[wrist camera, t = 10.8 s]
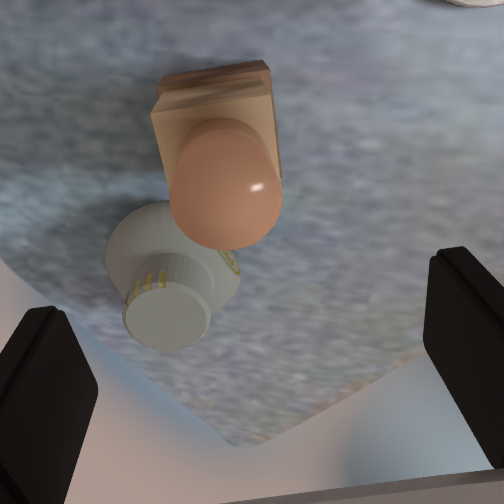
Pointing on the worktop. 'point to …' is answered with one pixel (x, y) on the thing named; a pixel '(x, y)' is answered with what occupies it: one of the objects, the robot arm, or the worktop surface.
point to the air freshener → (167, 278)
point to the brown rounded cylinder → (224, 186)
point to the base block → (221, 81)
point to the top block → (212, 115)
